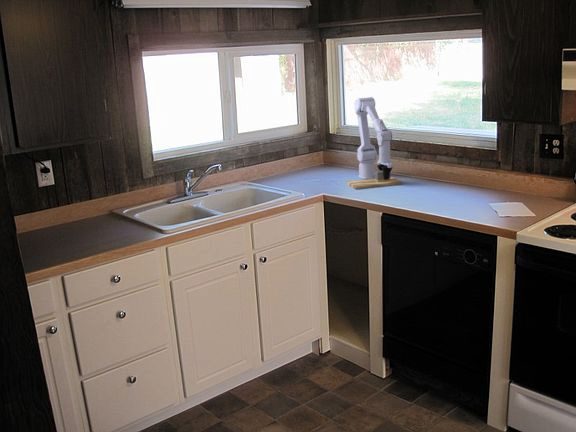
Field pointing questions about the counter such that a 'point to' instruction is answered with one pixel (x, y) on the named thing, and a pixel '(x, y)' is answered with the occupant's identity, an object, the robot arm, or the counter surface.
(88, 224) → the counter surface
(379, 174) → the block
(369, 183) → the board
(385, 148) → the robot arm
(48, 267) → the counter surface
